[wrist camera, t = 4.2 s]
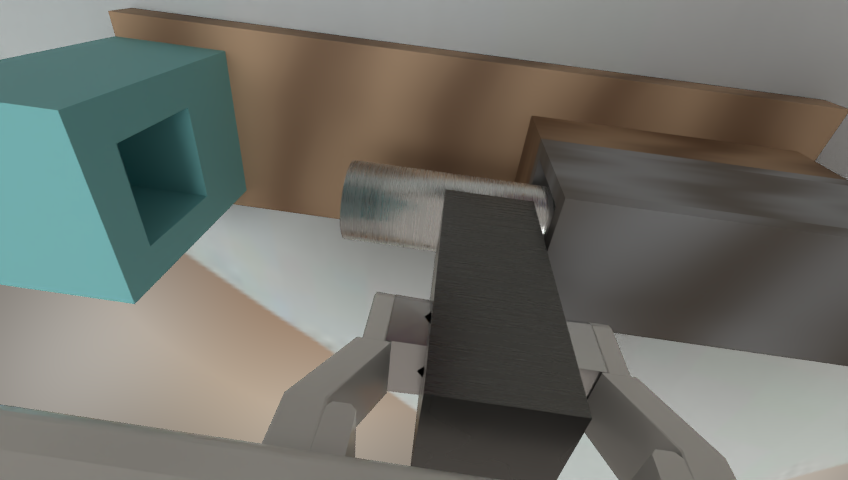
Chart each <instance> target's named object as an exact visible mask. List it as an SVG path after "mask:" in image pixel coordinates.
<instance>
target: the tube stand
mask: <svg viewBox="0 0 848 480" xmlns="http://www.w3.org/2000/svg"><path fill="white" fill-rule="evenodd" d="M108 12H109V15H110V19H111V22H112V26H113V29H114V33H115V36H117V37H124V38H132V39H139V40H147V41H154V42H162V43H169V44H176V45H184V46H191V47H199V48H206V49H214V50H221V51H225V53H226V60H227V66H228V73H229V79H230V86H231V92H232V99H233V105H234V111H235V118H236V124H237V131H238V137H239V144H240V150H241V157H242V163H243V170H244V176H245V183H246V189H247V191H246V192H245V193H244V194H243V195H242V196H241V197H240V198H239V199H238V200H237V201H236V202H235V203H234V204H236V205H243V206H250V207H257V208H265V209H272V210H279V211H286V212H293V213H300V214H307V215H314V216H322V217H329V218H336V219H340V208H341V198H342V191H343V185H344V181H345V177H346V173H347V170H348V168H349V165H350V163H351V162H352V161H353V160H358V161H365V162H372V163H379V164H387V165H394V166H401V167H408V168H416V169H423V170H430V171H437V172H445V173H452V174H459V175H466V176H474V177H481V178H488V179H495V180H503V181H510V182H517V183H524V184H532V185H539V186H546V187H549V188H550V191H551V193H552V196H553V199H554V202H555V205H556V208H555V211H554V214H553V217H552V220H551V223H550V226H549V229H548V232H547V235H546V238H545V241H544V242H545V245H546V249H547V253H548V256H549V260H550V264H551V267H552V271H553V275H554V279H555V282H556V286H557V290H558V293H559V297H560V301H561V304H562V308H563V312H564V316H565V319H566V320H572V321H579V322H586V323H596V324H604V325H609V326H610V327H611V329H612V331H613V333H620V334H627V335H634V336H641V337H648V338H655V339H662V340H669V341H676V342H683V343H690V344H697V345H704V346H711V347H718V348H725V349H732V350H739V351H746V352H753V353H760V354H767V355H774V356H781V357H788V358H795V359H802V360H809V361H816V362H823V363H830V364H836V365H843V366H848V180H846V179H845V178H843V177H841V176H839V175H838V174H836V173H834V172H832V171H831V170H829V169H827V168H825V167H824V166H822V165H820V164H818V163H817V162H815V160H816V159H817V157H818V156H819V154H820V153H821V151H822V150H823V148H824V147H825V146H826V144H827V143H828V141H829V140H830V138H831V137H832V135H833V134H834V133H835V131H836V130H837V128H838V127H839V125H840V124H841V122H842V121H843V119H844V118H845V117H846V115H847V114H848V109H847V108H844V107H841V106H839V105H836V104H834V103H831V102H828V101H826V100H820V99H813V98H805V97H798V96H790V95H782V94H775V93H767V92H760V91H752V90H745V89H737V88H730V87H722V86H715V85H707V84H700V83H692V82H685V81H677V80H670V79H662V78H655V77H647V76H640V75H632V74H624V73H617V72H609V71H602V70H594V69H587V68H579V67H572V66H564V65H557V64H549V63H542V62H534V61H527V60H519V59H512V58H504V57H497V56H489V55H482V54H474V53H467V52H459V51H451V50H444V49H436V48H429V47H421V46H414V45H406V44H399V43H391V42H384V41H376V40H369V39H361V38H354V37H346V36H339V35H331V34H324V33H316V32H309V31H301V30H294V29H286V28H278V27H271V26H263V25H256V24H248V23H241V22H233V21H226V20H218V19H211V18H203V17H196V16H188V15H181V14H173V13H166V12H158V11H151V10H143V9H136V8H128V9H120V10H112V11H108Z"/></svg>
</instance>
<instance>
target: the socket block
mask: <svg viewBox="0 0 848 480" xmlns="http://www.w3.org/2000/svg"><path fill="white" fill-rule="evenodd" d="M246 191H247V189H246V183H245V176H244V170H243V163H242V157H241V150H240V144H239V137H238V131H237V124H236V118H235V111H234V105H233V99H232V92H231V86H230V79H229V73H228V66H227V60H226V53H225V51H221V50H214V49H206V48H199V47H191V46H184V45H176V44H169V43H162V42H154V41H147V40H139V39H132V38H124V37H117V36H115V37H110V38H105V39H100V40H95V41H90V42H85V43H80V44H75V45H71V46H66V47H61V48H56V49H51V50H46V51H41V52H36V53H31V54H26V55H21V56H17V57H12V58H7V59H2V60H0V284H1V285H8V286H15V287H21V288H28V289H35V290H42V291H49V292H56V293H63V294H70V295H78V296H84V297H90V298H98V299H104V300H111V301H119V302H125V303H132V304H135V303H136V302H137V301H138V300H139V299H140V298H141V297H142V296H143V295H144V294H145V293H146V292H147V291H148V290H149V289H150V288H151V287H152V286H153V285H154V284H155V283H156V282H157V281H158V280H159V279H160V278H161V277H162V275H164V274H165V273H166V272H167V271H168V269H170V268H171V267H172V265H173V264H175V262H176V261H177V260H178V259H179V258H180V257H181V256H182V255H183V254H184V253H185V252H186V251H187V250H188V249H189V248H190V247H191V246H192V245H193V244H194V243H195V242H196V241H197V240H198V239H199V238H200V237H201V236H202V235H203V234H204V233H205V232H206V231H207V230H208V229H209V228H210V227H211V226H212V225H213V224H214V223H215V222H216V221H217V220H218V219H219V218H220V217H221V216H222V215H223V214H224V213H225V212H226V211H227V210H228V209H229V208H230V207H231V206H232V205H233V204H234V203H235V202H236V201H237V200H238V199H239V198H240V197H241V196H242V195H243V194H244V193H245V192H246Z"/></svg>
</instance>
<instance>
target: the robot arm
mask: <svg viewBox="0 0 848 480" xmlns="http://www.w3.org/2000/svg"><path fill="white" fill-rule="evenodd" d="M431 311H432V301H431V300H425V299H419V298H413V297H407V296H401V295H393V294H387V293H381V292H377V293H376V294H375V296H374V299H373V303H372V306H371V310H370V313H369V317H368V320H367V324H366V327H365V331H364V334H363V338H361V337H356V338H355V339H353V340H352V341H351V342H350V343H348V344H347V345H346V346H344V347H343V348H342V349H340V350H339V351H338V352H336V353H335V354H334V355H333V356H331V357H330V358H329V359H327V360H326V361H325V362H323V363H322V364H321V365H320V366H318V367H317V368H316V369H314V370H313V371H312V372H310V373H309V374H308V375H306V376H305V377H304V378H302V379H301V380H300V381H298V382H297V383H296V384H295V385H293V386H292V387H291V388H289V389H288V390H287V391H285V392H284V395H283V397H282V399H281V401H280V404H279V406H278V408H277V410H276V413H275V415H274V417H273V419H272V422H271V424H270V426H269V428H268V431H267V433H266V435H265V438H264V440H263V442H262V444H260V443H253V442H246V441H240V440H233V439H227V438H220V437H214V436H207V435H200V434H194V433H187V432H180V431H174V430H167V429H160V428H153V427H147V426H141V425H134V424H128V423H121V422H114V421H107V420H101V419H94V418H87V417H81V416H74V415H67V414H61V413H54V412H48V411H41V410H34V409H28V408H21V407H14V406H8V405H1V404H0V480H499V479H492V478H486V477H479V476H472V475H466V474H459V473H453V472H446V471H439V470H433V469H426V468H419V467H413V466H405V465H399V464H393V463H386V462H379V461H373V460H366V459H359V458H355V440H356V427H357V425H358V424H359V423H360V422H361V421H362V420H363V419H364V418H365V417H366V415H367V414H368V413H369V412H370V411H371V410H372V409H373V408H374V406H375V405H376V404H377V403H378V402H379V401H380V400H381V399H382V398H383V396H384V395H385V394H386V393H387V391H392V392H400V393H408V394H417V395H420V389H421V383H422V377H423V368H424V365H425V359H426V353H427V347H428V338H429V329H430V324H429V323H430V317H431ZM566 323H567V327H568V330H569V334H570V338H571V342H572V345H573V349H574V353H575V356H576V360H577V364H578V367H579V371H580V375H581V379H582V382H583V386H584V390H585V393H586V397H587V401H588V404H589V408H590V412H591V416H592V420H591V422H590V423H589V425H588V427H587V428H586V430H585V434H586V435H587V436H588V438H589V439H590V441H591V442H592V443H593V445H594V446H595V448H596V449H597V450H598V452H599V453H600V454H601V456H602V457H603V459H604V460H605V461H606V463H607V464H608V465H609V467H610V468H611V470H612V471H613V472H614V474H615V475H616V477H617V478H618V479H619V480H736V478H735V476H734V474H733V472H732V470H731V468H730V466H729V464H728V462H727V460H726V458H725V457H723V456H722V455H721V454H720V453H719V452H718V451H717V450H716V449H715V448H714V447H712V446H711V445H710V444H709V443H708V442H707V441H706V440H705V439H704V438H703V437H701V436H700V435H699V434H698V433H697V432H696V431H695V430H694V429H693V428H692V427H690V426H689V425H688V424H687V423H686V422H685V421H684V420H683V419H682V418H681V417H679V416H678V415H677V414H676V413H675V412H674V411H673V410H672V409H671V408H670V407H668V406H667V405H666V404H665V403H664V402H663V401H662V400H661V399H660V398H659V397H657V396H656V395H655V394H654V393H653V392H652V391H651V390H650V389H649V388H648V387H646V386H645V385H644V384H643V383H642V382H641V381H640V380H639V379H638V378H636V377H631V376H630V373H629V371H628V368H627V366H626V363H625V361H624V358H623V356H622V353H621V351H620V348H619V346H618V343H617V341H616V338H615V336H614V333H613V331H612V329H611V327H610V326H609V325H604V324H596V323H586V322H579V321H572V320H566Z"/></svg>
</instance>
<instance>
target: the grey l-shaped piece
mask: <svg viewBox="0 0 848 480" xmlns="http://www.w3.org/2000/svg"><path fill="white" fill-rule="evenodd" d="M555 208H556V205H555V202H554V199H553V196H552V193H551V191H550V188H549V187H546V186H539V185H532V184H524V183H517V182H510V181H503V180H495V179H488V178H481V177H474V176H466V175H459V174H452V173H445V172H437V171H430V170H423V169H416V168H408V167H401V166H394V165H387V164H379V163H372V162H365V161H358V160H353V161H352V162H351V163H350V165H349V168H348V170H347V173H346V177H345V181H344V185H343V191H342V198H341V208H340V228H341V234H342V237H343V238H344V239H350V240H357V241H364V242H371V243H378V244H385V245H392V246H399V247H406V248H413V249H420V250H427V251H435V252H436V255H435V262H434V271H433V279H432V288H431V296H430V300H431V301H432V311H431V317H430V323H429V324H430V329H429V338H428V347H427V353H426V359H425V365H424V368H423V377H422V383H421V389H420V395H419V398H418V407H417V416H416V424H415V432H414V440H413V450H412V458H411V466H413V467H419V468H426V469H433V470H439V471H446V472H453V473H459V474H466V475H472V476H479V477H486V478H492V479H499V480H557V478H558V476H559V475H560V473H561V471H562V469H563V468H564V466H565V464H566V463H567V461H568V459H569V457H570V456H571V454H572V452H573V451H574V449H575V447H576V446H577V444H578V442H579V440H580V439H581V437H582V435H583V434H584V432H585V430H586V428H587V427H588V425H589V423H590V422H591V420H592V416H591V412H590V408H589V404H588V401H587V397H586V393H585V390H584V386H583V382H582V379H581V375H580V371H579V367H578V364H577V360H576V356H575V353H574V349H573V345H572V342H571V338H570V334H569V330H568V327H567V323H566V319H565V316H564V312H563V308H562V304H561V301H560V297H559V293H558V290H557V286H556V282H555V279H554V275H553V271H552V267H551V264H550V260H549V256H548V253H547V249H546V245H545V242H544V241H545V238H546V235H547V232H548V229H549V226H550V223H551V220H552V217H553V214H554V211H555Z"/></svg>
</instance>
